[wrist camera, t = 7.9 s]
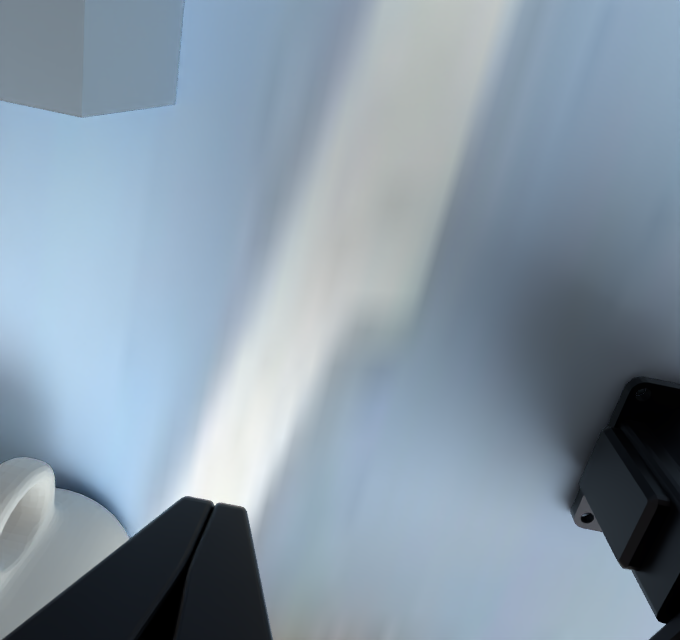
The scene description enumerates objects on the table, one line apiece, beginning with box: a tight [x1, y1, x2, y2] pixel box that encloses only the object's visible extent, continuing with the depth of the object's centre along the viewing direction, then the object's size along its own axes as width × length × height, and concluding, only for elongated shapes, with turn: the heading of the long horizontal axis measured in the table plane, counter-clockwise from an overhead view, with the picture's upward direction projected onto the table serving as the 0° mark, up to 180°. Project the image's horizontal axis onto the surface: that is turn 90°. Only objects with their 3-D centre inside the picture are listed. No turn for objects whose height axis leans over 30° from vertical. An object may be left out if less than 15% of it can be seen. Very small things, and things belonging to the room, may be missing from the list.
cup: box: [0, 457, 129, 640], centre depth 21 cm, size 11×8×8 cm
